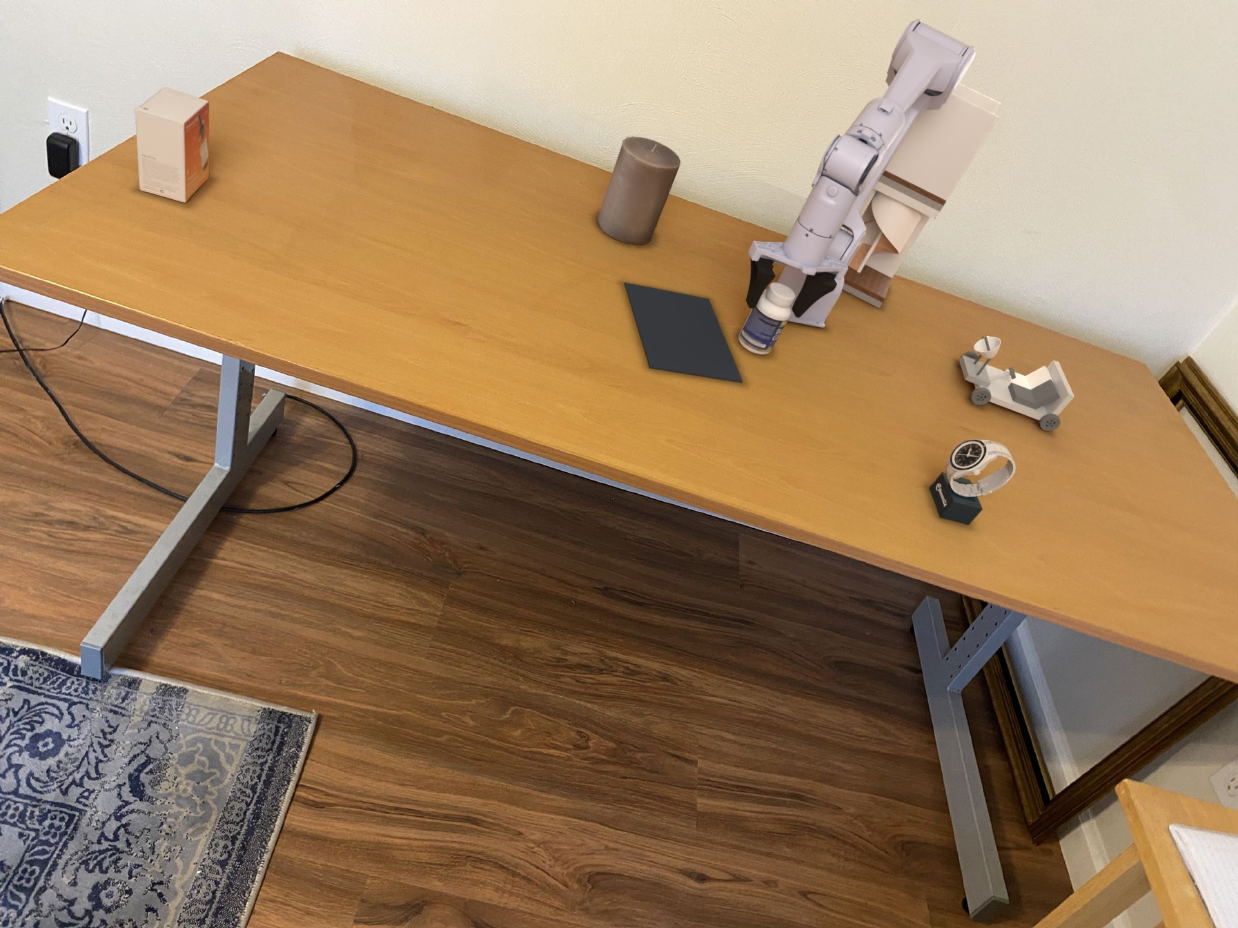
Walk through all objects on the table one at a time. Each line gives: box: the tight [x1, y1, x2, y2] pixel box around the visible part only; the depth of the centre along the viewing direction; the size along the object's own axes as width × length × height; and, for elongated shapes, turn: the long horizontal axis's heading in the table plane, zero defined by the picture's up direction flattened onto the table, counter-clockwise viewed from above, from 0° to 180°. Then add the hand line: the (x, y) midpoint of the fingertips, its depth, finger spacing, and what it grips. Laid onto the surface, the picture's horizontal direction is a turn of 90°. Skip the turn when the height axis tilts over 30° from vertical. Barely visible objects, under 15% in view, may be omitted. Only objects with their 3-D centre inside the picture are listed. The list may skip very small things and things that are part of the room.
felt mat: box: [624, 281, 744, 384], centre depth 121 cm, size 14×20×1 cm
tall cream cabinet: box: [842, 82, 1002, 309], centre depth 142 cm, size 11×11×35 cm
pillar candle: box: [597, 135, 682, 246], centre depth 134 cm, size 10×10×15 cm
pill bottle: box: [738, 282, 795, 356], centre depth 122 cm, size 5×5×10 cm
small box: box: [134, 86, 210, 203], centre depth 104 cm, size 8×6×10 cm
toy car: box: [958, 335, 1075, 432], centre depth 136 cm, size 18×10×12 cm
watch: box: [928, 438, 1017, 526], centre depth 108 cm, size 6×8×11 cm
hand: (772, 309), depth 121 cm, fingers open, 7 cm apart
